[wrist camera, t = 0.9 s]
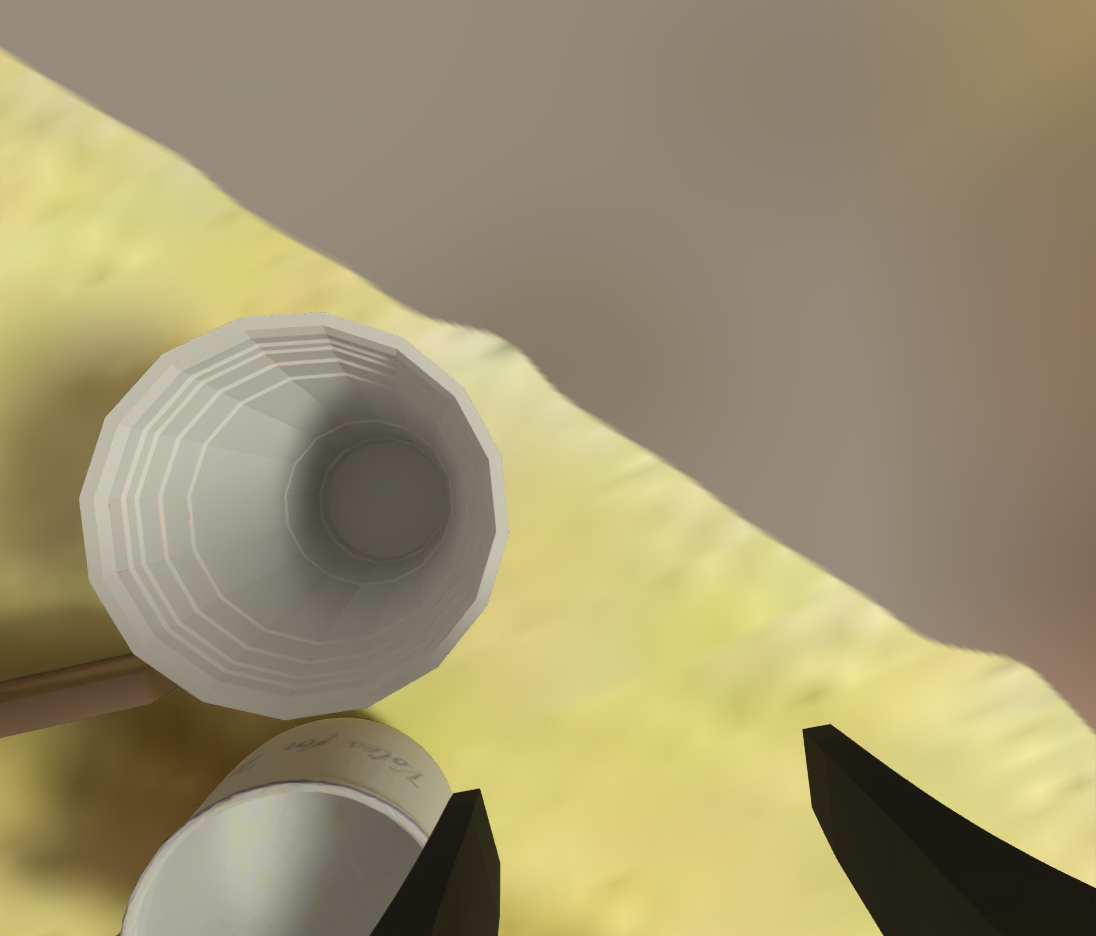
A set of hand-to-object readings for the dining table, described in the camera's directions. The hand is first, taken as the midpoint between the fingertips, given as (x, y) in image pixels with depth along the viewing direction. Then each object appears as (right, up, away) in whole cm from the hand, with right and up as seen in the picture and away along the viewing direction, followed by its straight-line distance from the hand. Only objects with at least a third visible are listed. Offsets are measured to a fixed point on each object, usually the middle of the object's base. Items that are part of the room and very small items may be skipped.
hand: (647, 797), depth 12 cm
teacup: (-13, -9, +14) cm, 21 cm away
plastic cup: (-9, +6, +14) cm, 18 cm away
